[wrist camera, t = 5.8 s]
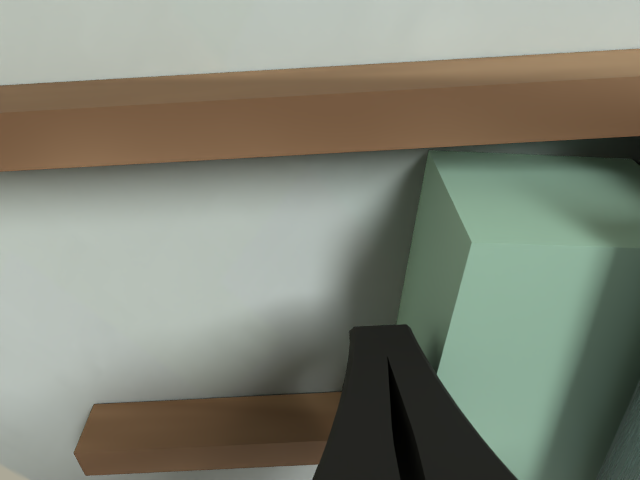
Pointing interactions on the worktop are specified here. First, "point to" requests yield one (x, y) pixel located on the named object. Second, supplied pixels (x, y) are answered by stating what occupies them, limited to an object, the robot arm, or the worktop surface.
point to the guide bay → (301, 139)
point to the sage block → (530, 301)
